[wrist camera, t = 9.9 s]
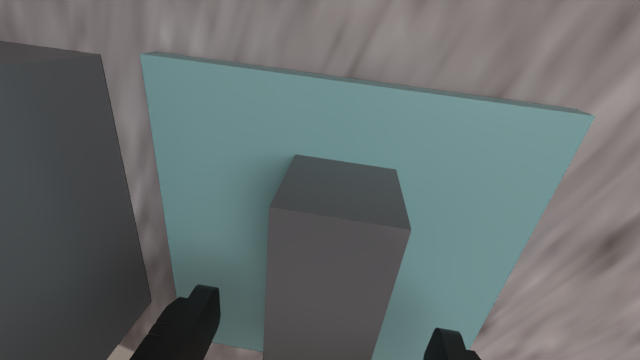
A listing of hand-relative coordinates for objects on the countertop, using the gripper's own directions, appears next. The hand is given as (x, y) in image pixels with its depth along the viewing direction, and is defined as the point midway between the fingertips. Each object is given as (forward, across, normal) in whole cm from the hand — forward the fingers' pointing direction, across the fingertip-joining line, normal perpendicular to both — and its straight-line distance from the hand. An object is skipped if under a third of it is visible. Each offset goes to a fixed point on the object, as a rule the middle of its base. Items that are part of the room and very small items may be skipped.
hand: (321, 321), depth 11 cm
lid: (+4, 0, 0) cm, 4 cm away
